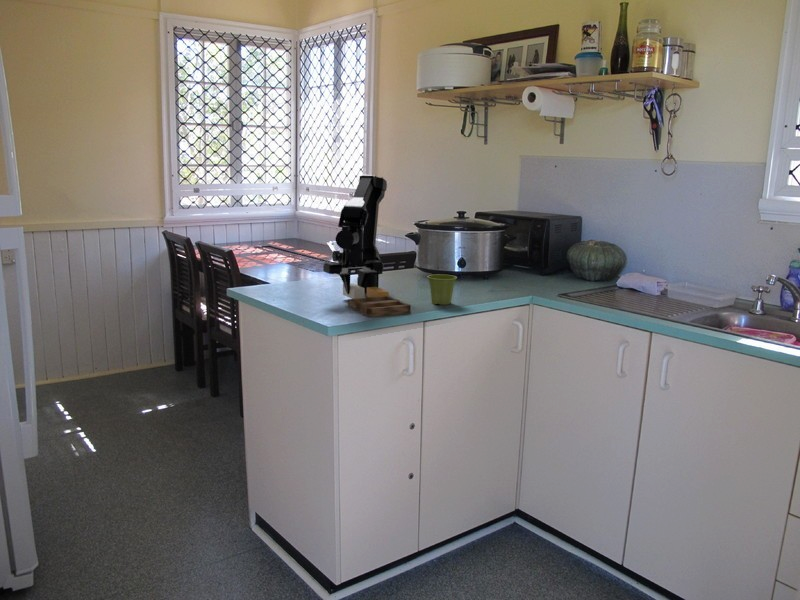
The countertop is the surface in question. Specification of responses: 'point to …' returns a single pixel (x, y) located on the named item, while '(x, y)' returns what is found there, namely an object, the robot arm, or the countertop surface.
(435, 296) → the plant pot
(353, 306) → the slot board
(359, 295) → the off-white square pillar
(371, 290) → the tall amber prism
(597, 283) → the countertop surface
